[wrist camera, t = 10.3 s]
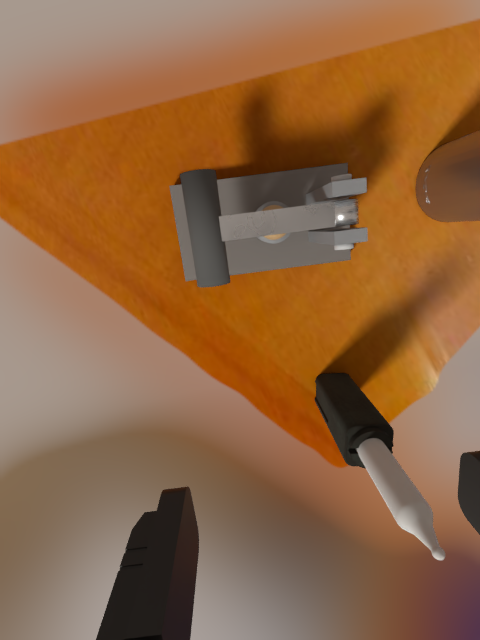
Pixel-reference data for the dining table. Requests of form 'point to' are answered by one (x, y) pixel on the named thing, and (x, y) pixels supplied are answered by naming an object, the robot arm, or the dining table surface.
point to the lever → (244, 223)
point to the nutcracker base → (248, 203)
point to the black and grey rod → (374, 453)
